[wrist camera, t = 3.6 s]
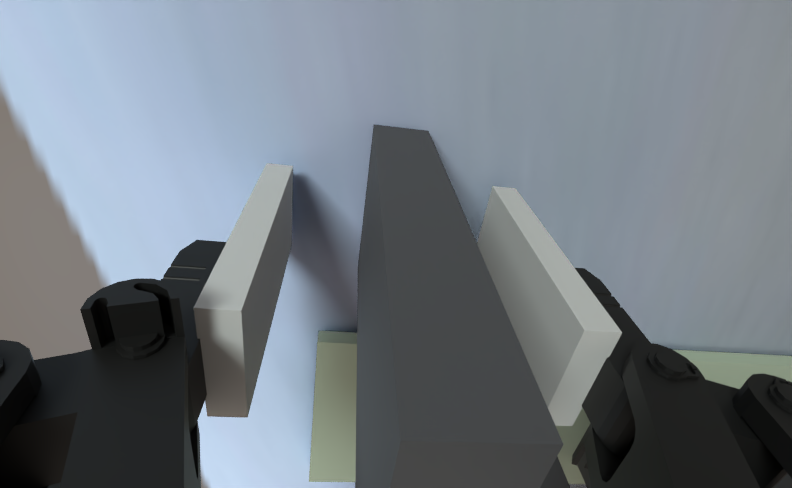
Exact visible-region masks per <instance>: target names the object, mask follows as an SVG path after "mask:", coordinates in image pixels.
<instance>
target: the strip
mask: <svg viewBox="0 0 792 488" xmlns="http://www.w3.org/2000/svg"><path fill="white" fill-rule="evenodd" d="M674 351H676V352H677V353H679V354H681V355H682V356H684V357H686V358H687V359H688V360H689V361H690V362H692V363H693V364H694V365H695V366H696V367H697V368H698V369H699V371H700V372H701V373H702V375H703V376H704V378H705V379H706V380H709V381H713V382H716V383H720V384H723V385H727V386H730V387H734V388H737V389H740V388H741V387H742V386H743V384H744V383H745V382H746V380H747V379H748V378H749V377H750V376H751V375H753V374H762V373H763V374H768V375H772V376H776V377H779V378H782V379H785V380H786V381H790V382H792V356H781V355H762V354H744V353H725V352H706V351H688V350H674ZM356 389H357V333H353V332H335V331H319V333H318V342H317V358H316V374H315V391H314V407H313V424H312V441H311V457H310V474H309V482H355V479H356ZM589 425H590V421H589V419H588V417H587V415H586V413H585V411H584V409H583V407H582V409H581V411H580V413H579V415H578V417H577V418H576V420H575V422H574V424H573V426H556V428H557V430H558V433H559V435H560V437H561V440H562V442H563V444H564V445H563V447H562V448H561V450H560V452H559V454H558V456H557V457H558V459H559V461H560V464H561V466H562V469H563V471H564V474H565V476H566V478H567V481H568V483H569V484H585V482H584V479H583V477H582V475H581V473H580V470H579V468H578V466H577V465H573V464H572V455H573V453H574V451H575V450H576V448H577V446H578V444H579V443H580V441H581V439H582V437H583V436H584V434H585V432H586V430H587V428H588V427H589Z"/></svg>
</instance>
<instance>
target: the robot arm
mask: <svg viewBox="0 0 792 488" xmlns="http://www.w3.org/2000/svg"><path fill="white" fill-rule="evenodd" d="M292 201H293V166H289V165H279V164H269V163H267V164H266V166H265V168H264V170H263V171H262V173H261V175H260V177H259V179H258V181H257V183H256V185H255V187H254V189H253V191H252V193H251V195H250V197H249V199H248V201H247V203H246V205H245V207H244V209H243V211H242V213H241V215H240V217H239V219H238V221H237V223H236V225H235V227H234V229H233V231H232V233H231V235H230V237H229V239H228V241H227V242H217V241H204V240H196V241H195V242H193V243H192V244H190V245H189V246H187V247H185V248H184V249H182V250H181V251H180V252H179V253H178V255H177V256H176V258H175V259H174V261H173V262H172V264H171V267H169V268H168V270H167V272H166V273H165V275H164V278H163V279H161V281H160V280H156V279H132V280H127V281H121V282H117V283H114V284H112V285H110V286H107V287H105V288H102V289H100V290H99V291H97V292H96V293H95V294H93V295H92V296H90V297H89V298H88V299H87V300H86V302H85V303H84V305H83V306H82V308H81V313H82V317H83V320H84V323H85V327H86V330H87V333H88V336H89V340H90V343H91V347H92V349H91V350H86V351H82V352H78V353H73V354H67V355H62V356H56V357H50V358H45V359H38V360H33V357H32V355H31V352H30V350H29V348H27V347H26V346H24V345H22V344H21V343H19V342H14V341H7V340H0V488H201V477H200V436H199V428H198V421H197V420H198V417H199V415H200V412H201V409H202V407H203V404H204V401H206V409H207V416H216V417H248V413H249V409H250V405H251V402H252V398H253V394H254V390H255V386H256V382H257V378H258V374H259V370H260V367H261V363H262V359H263V355H264V351H265V347H266V343H267V339H268V335H269V331H270V328H271V324H272V320H273V316H274V312H275V308H276V304H277V300H278V296H279V292H280V289H281V285H282V281H283V277H284V273H285V269H286V265H287V261H288V257H289V254H290V250H291V246H292ZM477 245H478V247H479V250H480V252H481V254H482V257H483V259H484V261H485V264H486V266H487V268H488V270H489V273H490V275H491V277H492V280H493V282H494V284H495V287H496V289H497V291H498V294H499V296H500V298H501V301H502V303H503V305H504V308H505V310H506V312H507V315H508V317H509V319H510V321H511V324H512V326H513V328H514V331H515V333H516V335H517V338H518V340H519V342H520V345H521V347H522V349H523V352H524V354H525V356H526V359H527V361H528V363H529V365H530V368H531V370H532V372H533V375H534V377H535V379H536V382H537V384H538V386H539V389H540V391H541V393H542V396H543V398H544V400H545V403H546V405H547V407H548V410H549V412H550V414H551V416H552V419H553V421H554V423H555V426H573V424H574V422H575V420H576V418H577V417H578V415H579V413H580V411H581V409H582V407H583V409H584V411H585V413H586V415H587V417H588V419H589V421H590V425H589V427H588V428H587V430H586V432H585V434H584V436H583V437H582V439H581V441H580V443H579V444H578V446H577V448H576V450H575V451H574V453H573V455H572V464H573V465H577V464H578V462H579V461H580V459H581V457H582V456H583V454H584V452H586V459H587V462H586V464H585V466H584V468H587V469H588V472H589V478H590V485H591V488H774V487H775V486H776V485H777V484H778V483H779V482H780V481H781V480H782V479H783V478H784V477H785V476H786V475H787V474H789V476H790V477H791V478H792V382H790V381H786V380H785V379H782V378H779V377H776V376H772V375H768V374H763V373H762V374H753V375H751V376H750V377H749V378H748V379H747V380H746V382H745V383H744V384H743V386H742V387H741V388H740V389H737V388H734V387H730V386H727V385H723V384H720V383H716V382H713V381H709V380H706V379H705V378H704V376H703V375H702V373H701V372H700V371H699V369H698V368H697V367H696V366H695V365H694V364H693V363H692V362H690V361H689V360H688V359H687V358H686V357H684V356H682V355H681V354H679V353H677V352H676V351H674V350H672V349H669V348H667V347H664V346H661V345H658V344H651V343H650V342H649V341H648V339H647V338H646V337H645V336H644V334H643V333H642V332H641V331H640V329H639V328H638V327H637V326H636V324H635V323H634V322H633V320H632V319H631V318H630V317H629V315H628V314H627V313H626V312H625V310H624V309H623V308H620V304H619V303H618V302H617V300H616V299H615V298H614V297H612V296H611V293H610V292H609V290H608V289H607V288H606V287H605V285H604V284H603V283H602V282H601V280H599V279H598V278H596V277H595V276H594V275H592V274H591V273H590V272H588V271H587V270H586V269H583V268H574V267H573V265H572V264H571V263H570V261H569V260H568V259H567V257H566V256H565V255H564V253H563V252H562V251H561V249H560V248H559V246H558V245H557V244H556V242H555V241H554V240H553V238H552V237H551V236H550V234H549V233H548V232H547V230H546V229H545V228H544V226H543V225H542V224H541V222H540V221H539V219H538V218H537V217H536V215H535V214H534V213H533V211H532V210H531V209H530V207H529V206H528V205H527V203H526V202H525V201H524V199H523V198H522V197H521V195H520V194H519V192H518V191H517V190H516V188H506V187H496V186H492V190H491V193H490V197H489V201H488V204H487V208H486V212H485V216H484V219H483V223H482V227H481V230H480V234H479V238H478V241H477Z"/></svg>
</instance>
